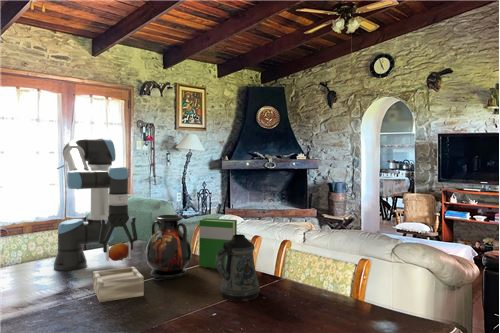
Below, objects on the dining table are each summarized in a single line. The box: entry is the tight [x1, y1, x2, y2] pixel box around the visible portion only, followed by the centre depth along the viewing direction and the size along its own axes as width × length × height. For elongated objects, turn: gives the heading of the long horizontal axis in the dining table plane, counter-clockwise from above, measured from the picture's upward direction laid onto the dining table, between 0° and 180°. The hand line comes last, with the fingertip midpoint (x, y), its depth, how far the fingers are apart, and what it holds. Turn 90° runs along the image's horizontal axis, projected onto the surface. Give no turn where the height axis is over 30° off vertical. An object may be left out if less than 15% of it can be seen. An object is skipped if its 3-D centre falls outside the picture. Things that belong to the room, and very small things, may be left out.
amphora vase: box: [145, 214, 192, 280], centre depth 194 cm, size 22×22×28 cm
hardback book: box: [198, 217, 238, 269], centre depth 209 cm, size 18×7×24 cm, turn 76°
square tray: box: [92, 266, 145, 303], centre depth 169 cm, size 17×17×8 cm
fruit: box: [109, 242, 128, 262], centre depth 169 cm, size 8×8×8 cm
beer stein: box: [216, 233, 261, 302], centre depth 167 cm, size 16×19×25 cm
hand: (118, 258), depth 169 cm, fingers closed on fruit, 8 cm apart
